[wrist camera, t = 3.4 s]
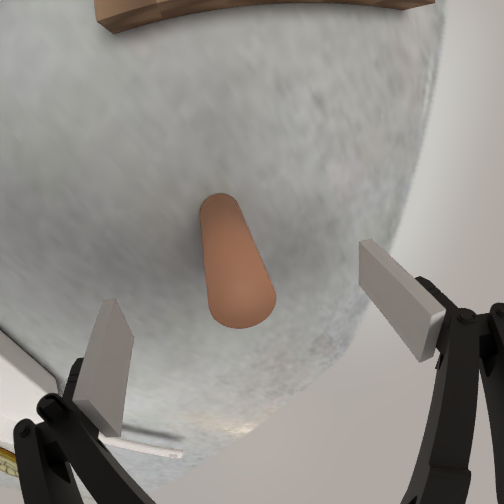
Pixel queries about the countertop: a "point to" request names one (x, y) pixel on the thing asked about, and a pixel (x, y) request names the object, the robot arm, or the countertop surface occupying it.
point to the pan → (33, 389)
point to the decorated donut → (8, 463)
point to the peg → (233, 266)
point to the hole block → (201, 9)
